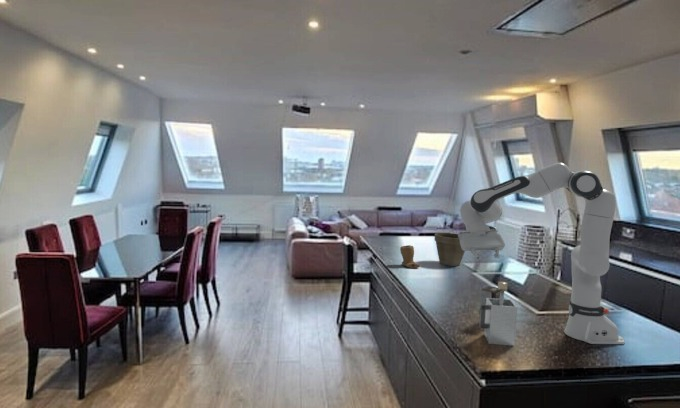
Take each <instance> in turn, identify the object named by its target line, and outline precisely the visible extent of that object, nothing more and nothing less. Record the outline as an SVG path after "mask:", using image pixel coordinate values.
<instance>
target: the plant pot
mask: <svg viewBox="0 0 680 408" xmlns="http://www.w3.org/2000/svg"><path fill="white" fill-rule="evenodd" d="M434 241H435V245H436V249H437V250H436V251H437V255H438V256H437V257H438V261H439V263H440V264H441V265H444V266H449V267H457V266H458V265H459V266H460V265H461V263H462V261H463V258H464V255H465V252H466V251H464V250H462V248H461V245H460V239H459V238H458V233H455V232H454V233H451V232H437V233H434ZM459 266H458V267H459Z"/></svg>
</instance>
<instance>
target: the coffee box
mask: <svg viewBox="0 0 680 408" xmlns="http://www.w3.org/2000/svg"><path fill="white" fill-rule="evenodd" d="M486 298H495V299H500V290H498V287H495V286H489V285H488V286H486V287H484V288H480V299H479V300H480V301H479V302H480V303H479V310H480V309H481V304H483V305H486ZM485 312H486V310H485ZM478 315H479V316H478V325H480V311H479V314H478ZM484 323H485V321H484Z"/></svg>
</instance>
